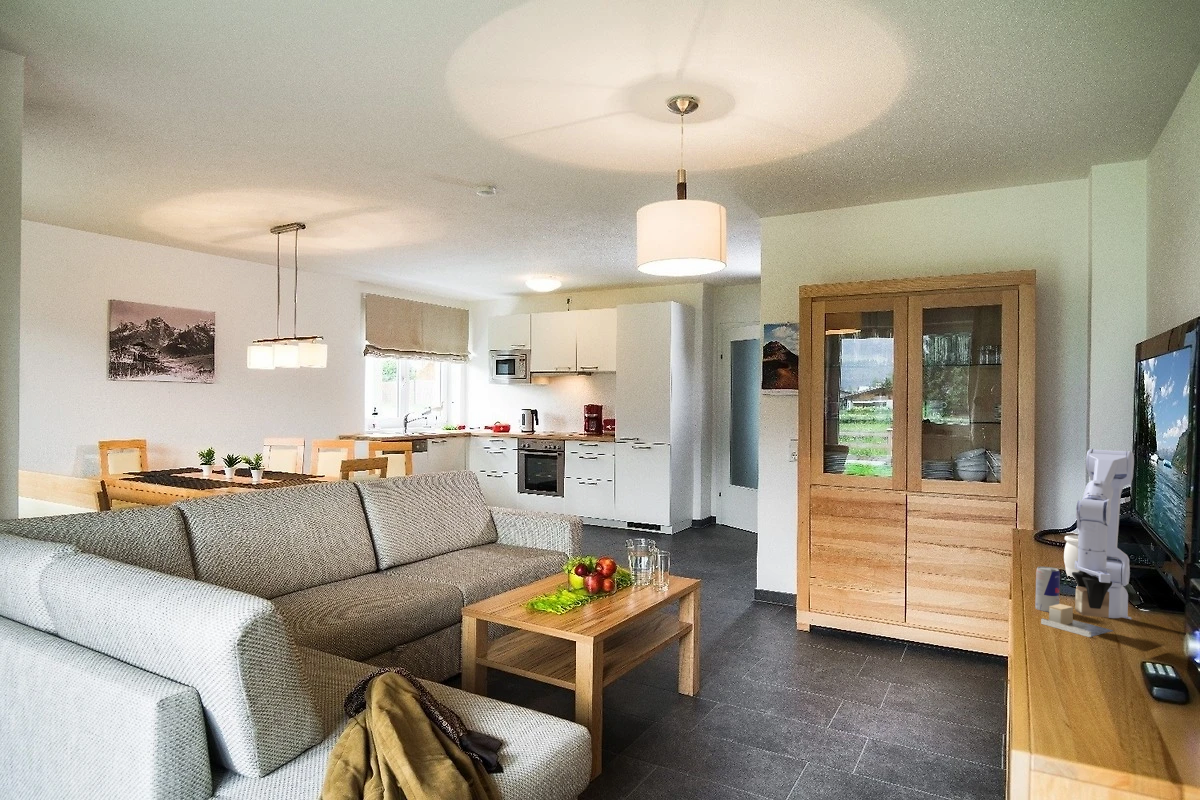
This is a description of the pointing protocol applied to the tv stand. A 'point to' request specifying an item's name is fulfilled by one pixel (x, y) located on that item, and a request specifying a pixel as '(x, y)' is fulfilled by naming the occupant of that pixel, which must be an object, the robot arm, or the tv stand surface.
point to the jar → (1071, 554)
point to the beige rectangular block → (1061, 614)
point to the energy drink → (1047, 588)
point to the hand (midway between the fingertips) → (1090, 605)
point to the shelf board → (1077, 627)
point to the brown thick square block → (1083, 604)
